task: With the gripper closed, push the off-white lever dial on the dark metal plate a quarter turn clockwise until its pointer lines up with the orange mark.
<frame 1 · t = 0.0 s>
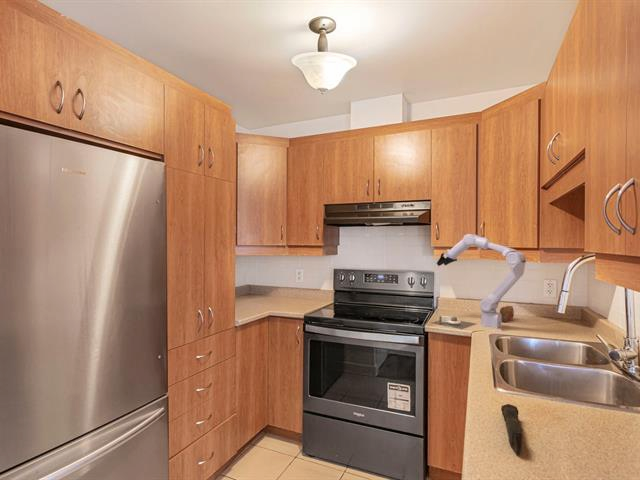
hand: (441, 264, 217), 32 cm above the countertop, tool tilted 50°, fingers open, 7 cm apart
brown slab: (506, 321, 215), on the countertop
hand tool: (515, 437, 90), on the countertop
dial plate: (453, 325, 202), on the countertop
dial: (449, 319, 202), point 3 cm above the countertop, hinge at 30.0°
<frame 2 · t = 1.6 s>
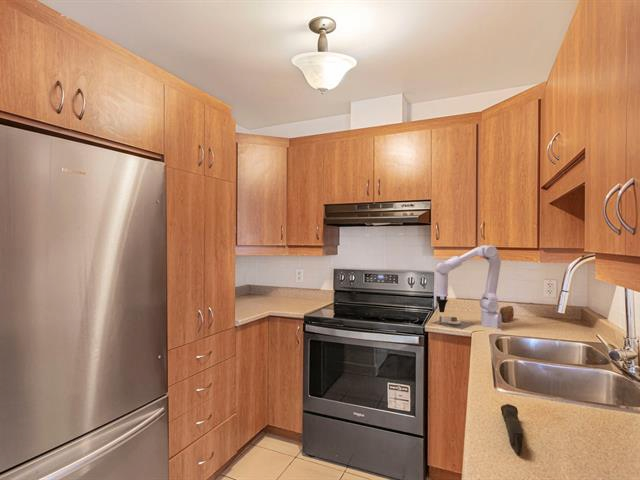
hand: (441, 310, 198), 9 cm above the countertop, tool pointing down, fingers open, 7 cm apart
nothing on the countertop moved.
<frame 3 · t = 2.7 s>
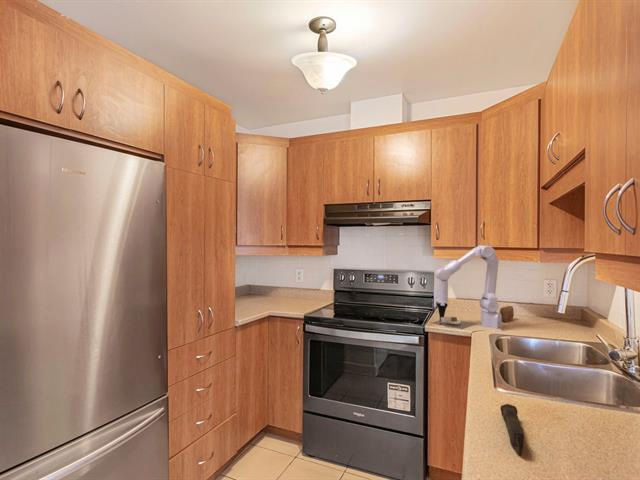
hand: (441, 316, 198), 5 cm above the countertop, tool pointing down, fingers closed
nothing on the countertop moved.
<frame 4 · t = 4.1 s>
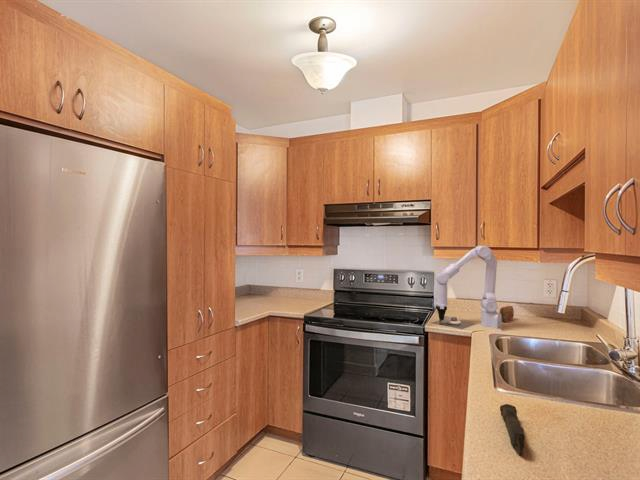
hand: (441, 319, 202), 3 cm above the countertop, tool pointing down, fingers closed
dial: (449, 319, 202), point 3 cm above the countertop, hinge at 29.8°, touching gripper
everything else where it was.
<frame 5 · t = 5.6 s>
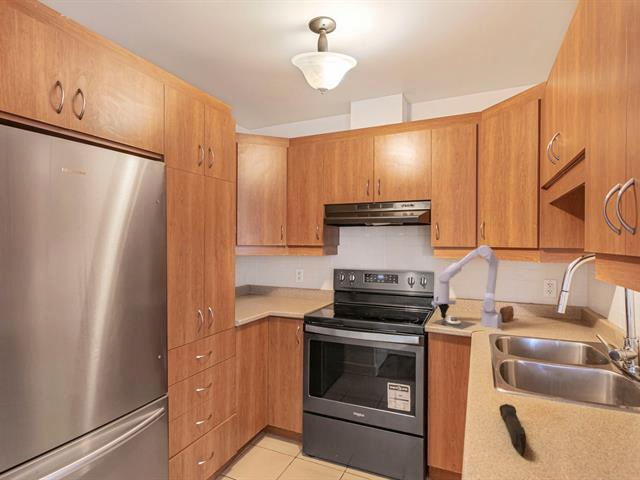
hand: (443, 317, 207), 3 cm above the countertop, tool pointing down, fingers closed, pressing on dial
dial: (451, 319, 204), point 3 cm above the countertop, hinge at -21.3°, touching gripper
everything else where it was.
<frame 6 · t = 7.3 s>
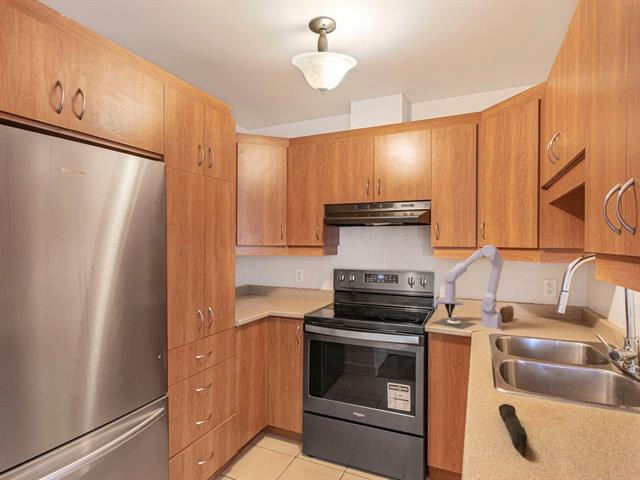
hand: (449, 317, 209), 3 cm above the countertop, tool pointing down, fingers closed
dial: (453, 319, 204), point 3 cm above the countertop, hinge at -63.6°
everything else where it was.
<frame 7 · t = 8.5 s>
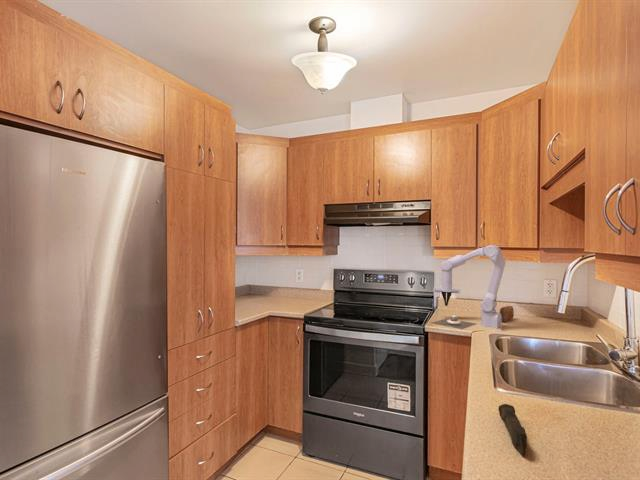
hand: (446, 305, 210), 9 cm above the countertop, tool pointing down, fingers closed
nothing on the countertop moved.
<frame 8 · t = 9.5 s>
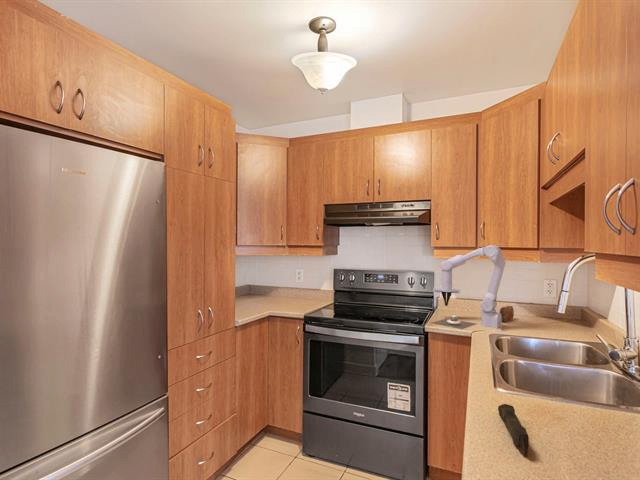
hand: (446, 305, 210), 9 cm above the countertop, tool pointing down, fingers closed
nothing on the countertop moved.
at the end: dial at -64° (first picture: +30°) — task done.
